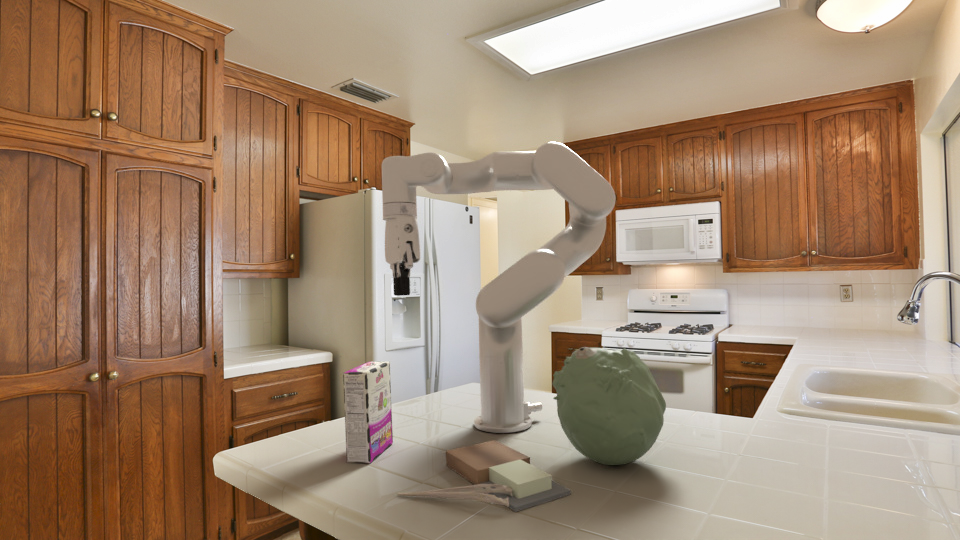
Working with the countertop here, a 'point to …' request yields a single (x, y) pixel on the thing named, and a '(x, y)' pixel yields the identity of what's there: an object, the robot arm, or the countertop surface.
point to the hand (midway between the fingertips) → (401, 295)
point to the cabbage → (608, 404)
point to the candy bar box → (367, 411)
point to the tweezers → (468, 493)
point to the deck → (481, 459)
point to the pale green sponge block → (520, 478)
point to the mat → (533, 496)
